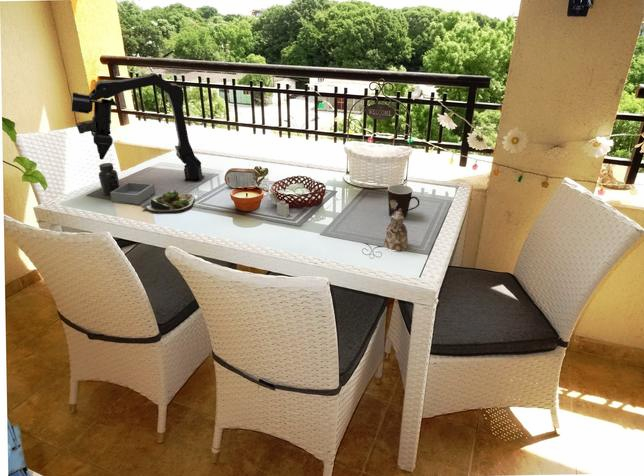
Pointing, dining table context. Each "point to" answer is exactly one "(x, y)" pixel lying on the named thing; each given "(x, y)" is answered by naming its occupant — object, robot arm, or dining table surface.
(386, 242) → the figurine
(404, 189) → the coffee mug
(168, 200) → the salad plate
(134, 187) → the square tray
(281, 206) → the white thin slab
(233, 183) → the tin
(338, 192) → the dining table surface
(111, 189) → the supplement bottle
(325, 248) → the dining table surface
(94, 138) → the robot arm
